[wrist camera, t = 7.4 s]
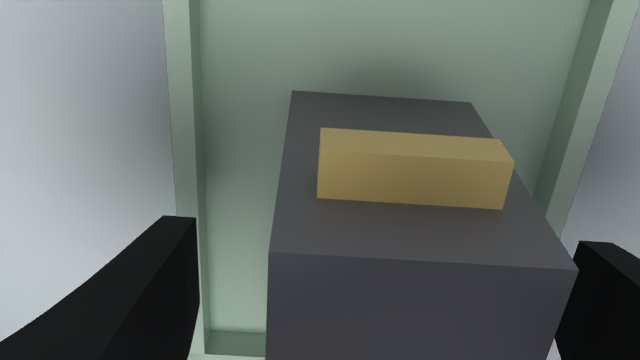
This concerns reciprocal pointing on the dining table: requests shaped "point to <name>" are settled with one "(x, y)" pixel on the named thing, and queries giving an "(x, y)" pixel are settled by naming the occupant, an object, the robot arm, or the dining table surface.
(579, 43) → the tray
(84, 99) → the dining table surface
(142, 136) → the dining table surface
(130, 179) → the dining table surface
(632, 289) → the robot arm
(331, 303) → the grey block with tab
